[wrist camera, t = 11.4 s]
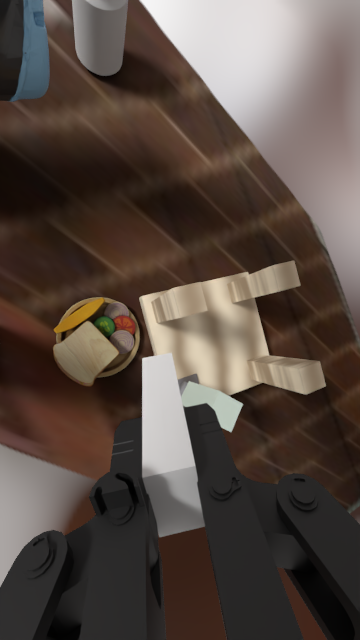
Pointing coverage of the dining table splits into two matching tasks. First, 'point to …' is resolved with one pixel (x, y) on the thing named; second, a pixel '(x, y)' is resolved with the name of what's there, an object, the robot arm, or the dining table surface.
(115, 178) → the dining table surface
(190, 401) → the hinged leg
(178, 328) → the stool
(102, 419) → the dining table surface
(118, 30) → the can
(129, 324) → the toy sandwich meal
